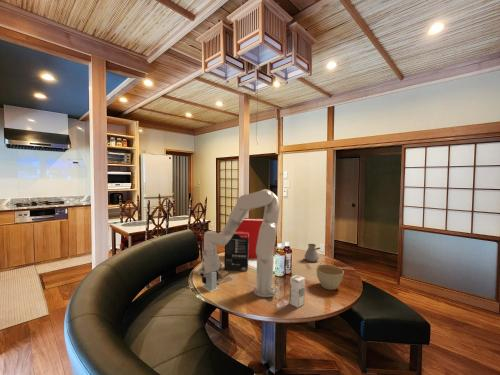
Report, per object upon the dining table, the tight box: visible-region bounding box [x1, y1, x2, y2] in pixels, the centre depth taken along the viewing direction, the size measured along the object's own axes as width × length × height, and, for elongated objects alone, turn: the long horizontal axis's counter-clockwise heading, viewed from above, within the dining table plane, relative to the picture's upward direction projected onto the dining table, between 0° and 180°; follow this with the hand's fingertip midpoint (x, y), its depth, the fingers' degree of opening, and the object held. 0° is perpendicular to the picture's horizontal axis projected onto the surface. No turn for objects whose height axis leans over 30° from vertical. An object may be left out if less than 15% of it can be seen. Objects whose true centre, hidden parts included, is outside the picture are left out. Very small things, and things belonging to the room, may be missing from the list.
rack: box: [216, 270, 233, 285], centre depth 153 cm, size 18×11×2 cm, turn 42°
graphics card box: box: [223, 232, 249, 272], centre depth 167 cm, size 17×7×27 cm, turn 85°
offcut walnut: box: [218, 270, 229, 279], centre depth 150 cm, size 4×6×2 cm, turn 148°
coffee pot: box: [304, 243, 321, 263], centre depth 184 cm, size 21×12×15 cm, turn 8°
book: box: [235, 217, 263, 259], centre depth 194 cm, size 27×8×32 cm, turn 88°
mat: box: [201, 284, 219, 293], centre depth 139 cm, size 9×6×1 cm, turn 42°
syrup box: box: [288, 274, 306, 308], centre depth 122 cm, size 6×6×14 cm
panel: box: [204, 271, 217, 291], centre depth 138 cm, size 8×3×10 cm, turn 42°
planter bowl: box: [315, 264, 345, 291], centre depth 143 cm, size 16×16×11 cm
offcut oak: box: [216, 275, 230, 282], centre depth 150 cm, size 4×8×2 cm, turn 132°
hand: (210, 280), depth 138 cm, fingers open, 8 cm apart
